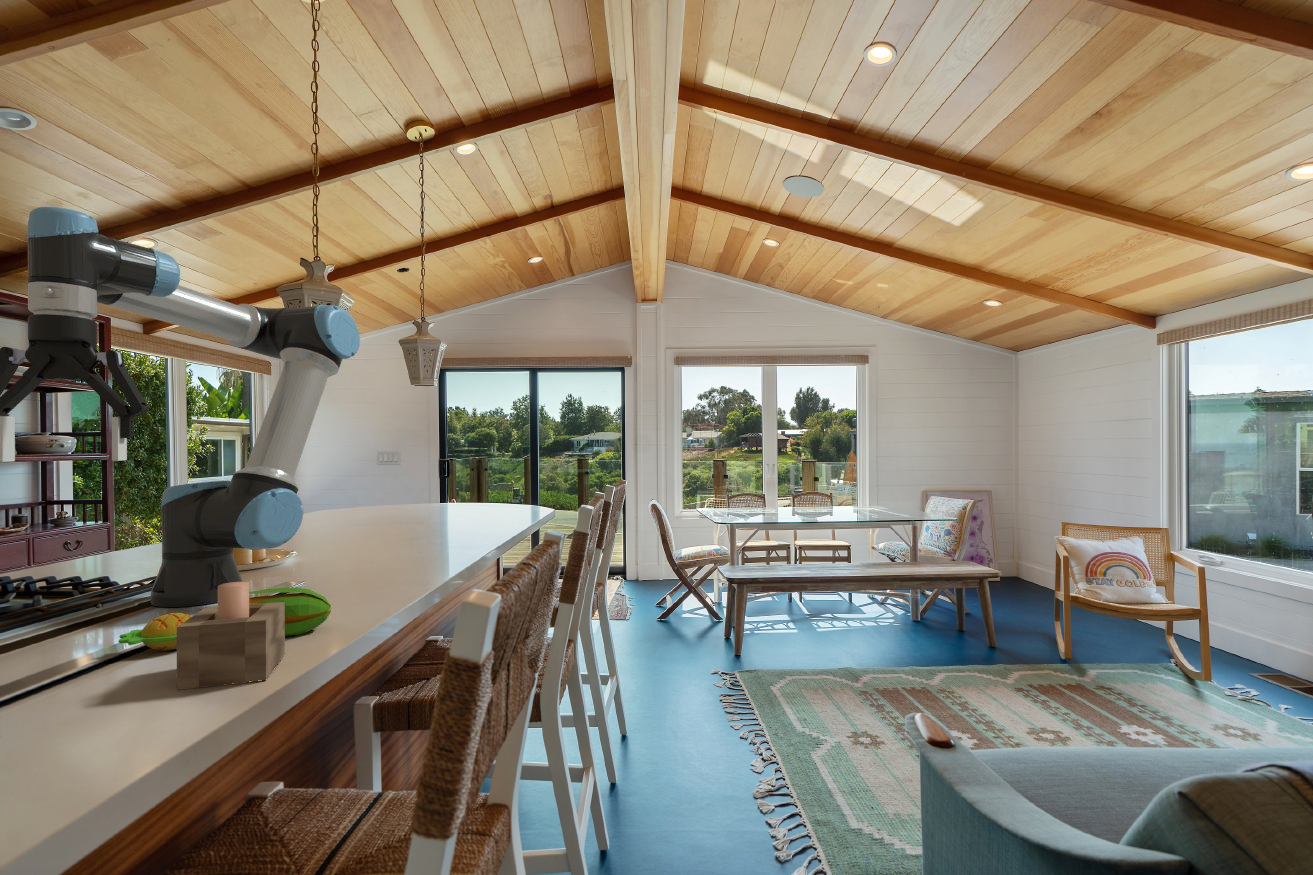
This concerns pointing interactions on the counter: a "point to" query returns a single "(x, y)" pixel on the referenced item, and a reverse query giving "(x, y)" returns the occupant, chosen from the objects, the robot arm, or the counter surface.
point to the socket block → (230, 646)
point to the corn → (297, 608)
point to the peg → (233, 600)
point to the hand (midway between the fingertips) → (63, 461)
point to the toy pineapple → (157, 632)
